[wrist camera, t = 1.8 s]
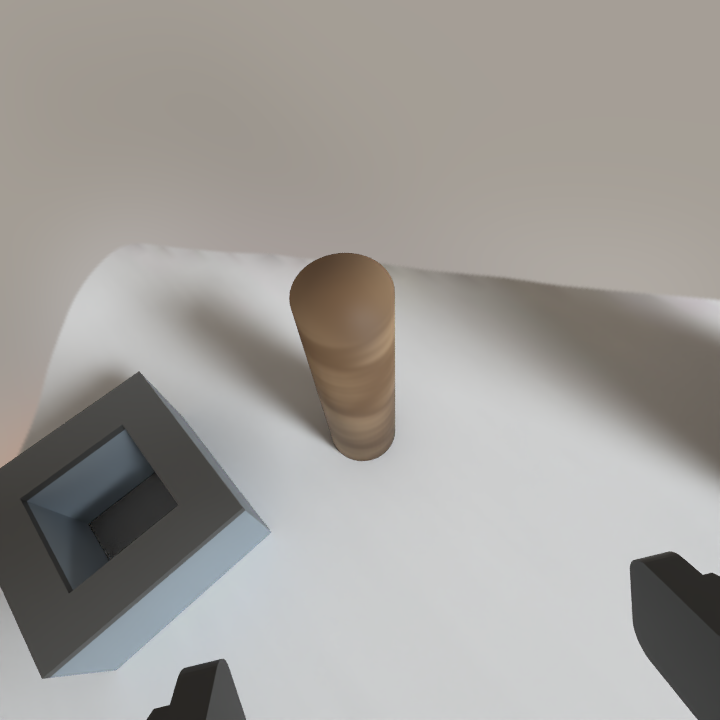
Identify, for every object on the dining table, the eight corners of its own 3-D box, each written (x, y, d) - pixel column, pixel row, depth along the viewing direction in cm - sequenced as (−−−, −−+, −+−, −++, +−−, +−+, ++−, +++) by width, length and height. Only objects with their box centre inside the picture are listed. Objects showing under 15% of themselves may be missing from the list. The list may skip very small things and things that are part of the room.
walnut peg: (365, 389, 32) (346, 237, 20) (408, 431, 30) (416, 293, 18) (318, 428, 31) (268, 292, 19) (360, 474, 29) (336, 357, 17)
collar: (181, 415, 32) (139, 371, 27) (271, 532, 28) (242, 507, 23) (38, 521, 29) (-40, 496, 24) (116, 670, 25) (42, 678, 20)
